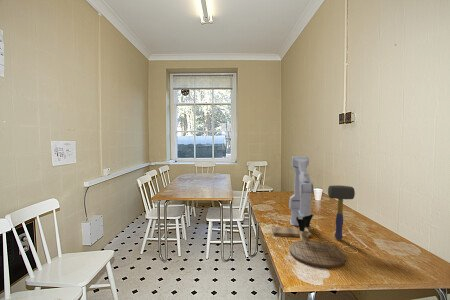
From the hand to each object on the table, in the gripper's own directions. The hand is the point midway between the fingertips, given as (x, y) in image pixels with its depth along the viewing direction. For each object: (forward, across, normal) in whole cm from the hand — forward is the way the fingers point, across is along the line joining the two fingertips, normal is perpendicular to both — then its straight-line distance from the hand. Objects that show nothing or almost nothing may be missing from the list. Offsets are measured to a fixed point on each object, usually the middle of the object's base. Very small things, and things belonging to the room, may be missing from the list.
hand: (304, 229), depth 135 cm
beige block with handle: (+6, -3, -2) cm, 7 cm away
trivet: (+6, +14, +11) cm, 19 cm away
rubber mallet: (+6, -13, +15) cm, 21 cm away
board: (+6, -3, -9) cm, 11 cm away
